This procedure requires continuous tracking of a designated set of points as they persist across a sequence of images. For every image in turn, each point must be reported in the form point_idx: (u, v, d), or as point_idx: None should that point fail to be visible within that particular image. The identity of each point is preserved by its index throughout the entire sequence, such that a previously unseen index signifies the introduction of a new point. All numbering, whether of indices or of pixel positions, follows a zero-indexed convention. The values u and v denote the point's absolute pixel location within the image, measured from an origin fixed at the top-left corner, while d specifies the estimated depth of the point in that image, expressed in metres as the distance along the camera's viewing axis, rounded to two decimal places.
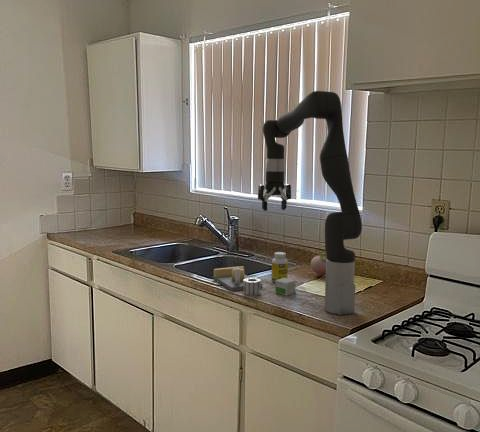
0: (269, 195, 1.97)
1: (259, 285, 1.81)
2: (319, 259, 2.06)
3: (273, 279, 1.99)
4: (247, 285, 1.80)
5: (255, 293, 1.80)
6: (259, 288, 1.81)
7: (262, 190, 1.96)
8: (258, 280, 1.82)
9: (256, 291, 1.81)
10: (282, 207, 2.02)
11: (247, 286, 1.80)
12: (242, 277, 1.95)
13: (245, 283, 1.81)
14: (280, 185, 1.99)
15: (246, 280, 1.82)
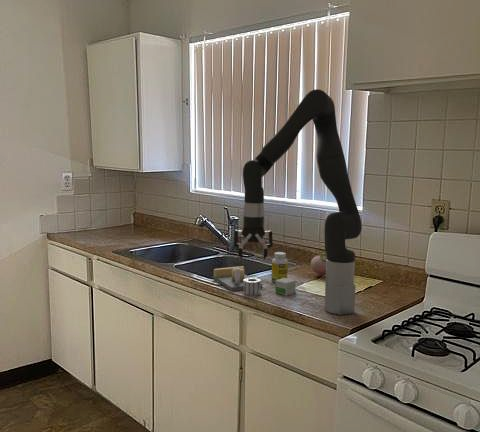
0: None
1: (259, 285, 1.81)
2: (319, 259, 2.06)
3: (273, 279, 1.99)
4: (247, 285, 1.80)
5: (255, 293, 1.80)
6: (259, 288, 1.81)
7: None
8: (258, 280, 1.82)
9: (256, 291, 1.81)
10: None
11: (247, 286, 1.80)
12: (242, 277, 1.95)
13: (245, 283, 1.81)
14: None
15: (246, 280, 1.82)
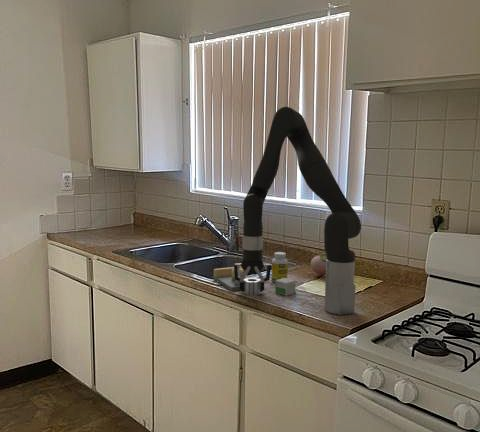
0: None
1: (259, 285, 1.81)
2: (319, 259, 2.06)
3: (273, 279, 1.99)
4: (247, 285, 1.80)
5: (255, 293, 1.80)
6: (259, 288, 1.81)
7: None
8: (258, 280, 1.82)
9: (256, 291, 1.81)
10: None
11: (247, 286, 1.80)
12: None
13: (245, 283, 1.81)
14: None
15: (246, 280, 1.82)
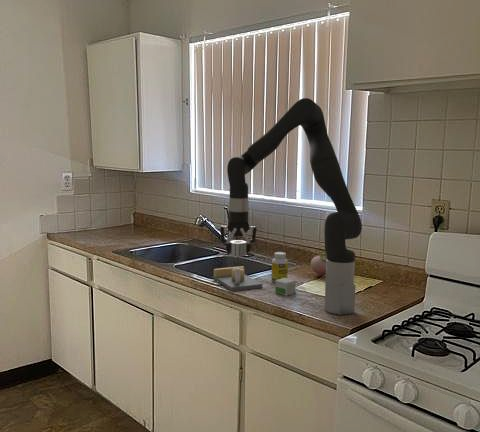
0: None
1: (245, 246, 1.87)
2: (319, 259, 2.06)
3: (273, 279, 1.99)
4: (233, 246, 1.85)
5: (241, 254, 1.86)
6: (245, 250, 1.86)
7: None
8: (244, 242, 1.88)
9: (242, 252, 1.86)
10: (229, 250, 1.88)
11: (233, 247, 1.86)
12: (242, 277, 1.95)
13: (231, 244, 1.86)
14: None
15: (232, 242, 1.87)
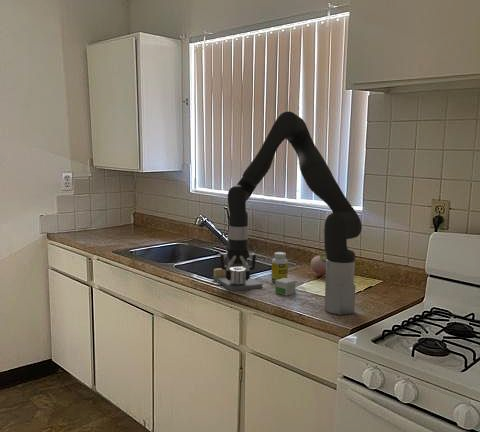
0: None
1: (244, 274, 1.88)
2: (319, 259, 2.06)
3: (273, 279, 1.99)
4: (233, 274, 1.87)
5: (240, 281, 1.87)
6: (244, 277, 1.88)
7: None
8: (244, 269, 1.89)
9: (241, 279, 1.87)
10: (229, 277, 1.90)
11: (233, 275, 1.87)
12: None
13: (231, 272, 1.88)
14: None
15: (232, 269, 1.89)
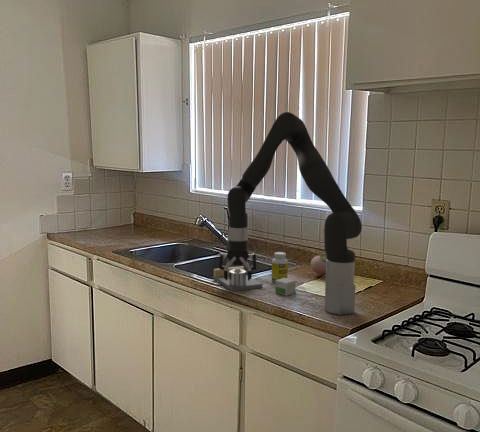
0: None
1: (244, 276, 1.88)
2: (319, 259, 2.06)
3: (273, 279, 1.99)
4: (233, 276, 1.87)
5: (240, 284, 1.87)
6: (244, 279, 1.88)
7: None
8: (243, 271, 1.89)
9: (241, 282, 1.87)
10: (227, 277, 1.90)
11: (233, 277, 1.87)
12: None
13: (231, 274, 1.88)
14: None
15: (232, 271, 1.89)
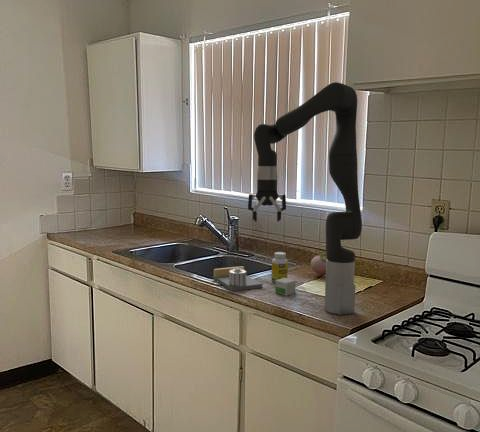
0: None
1: (244, 276, 1.88)
2: (319, 259, 2.06)
3: (273, 279, 1.99)
4: (233, 276, 1.87)
5: (240, 284, 1.87)
6: (244, 279, 1.88)
7: None
8: (243, 271, 1.89)
9: (241, 282, 1.87)
10: (256, 219, 1.86)
11: (233, 277, 1.87)
12: None
13: (231, 274, 1.88)
14: None
15: (232, 271, 1.89)
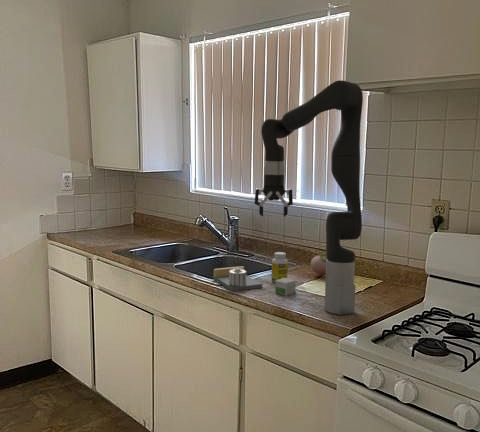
0: None
1: (244, 276, 1.88)
2: (319, 259, 2.06)
3: (273, 279, 1.99)
4: (233, 276, 1.87)
5: (240, 284, 1.87)
6: (244, 279, 1.88)
7: None
8: (243, 271, 1.89)
9: (241, 282, 1.87)
10: None
11: (233, 277, 1.87)
12: None
13: (231, 274, 1.88)
14: None
15: (232, 271, 1.89)
